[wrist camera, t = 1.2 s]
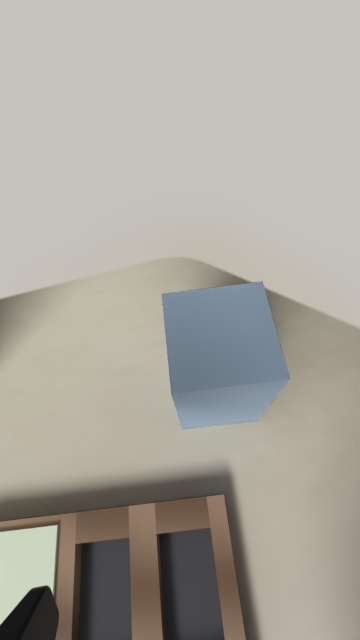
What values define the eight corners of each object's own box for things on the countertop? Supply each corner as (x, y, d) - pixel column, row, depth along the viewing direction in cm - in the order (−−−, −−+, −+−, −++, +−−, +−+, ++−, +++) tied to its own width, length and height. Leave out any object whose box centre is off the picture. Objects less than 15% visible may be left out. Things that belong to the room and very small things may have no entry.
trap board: (254, 710, 15) (259, 729, 14) (-123, 755, 15) (-152, 779, 14) (222, 494, 19) (224, 494, 18) (-72, 530, 19) (-91, 532, 18)
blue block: (257, 420, 21) (289, 379, 13) (182, 430, 21) (171, 393, 13) (242, 351, 24) (262, 281, 16) (175, 359, 24) (161, 294, 16)
